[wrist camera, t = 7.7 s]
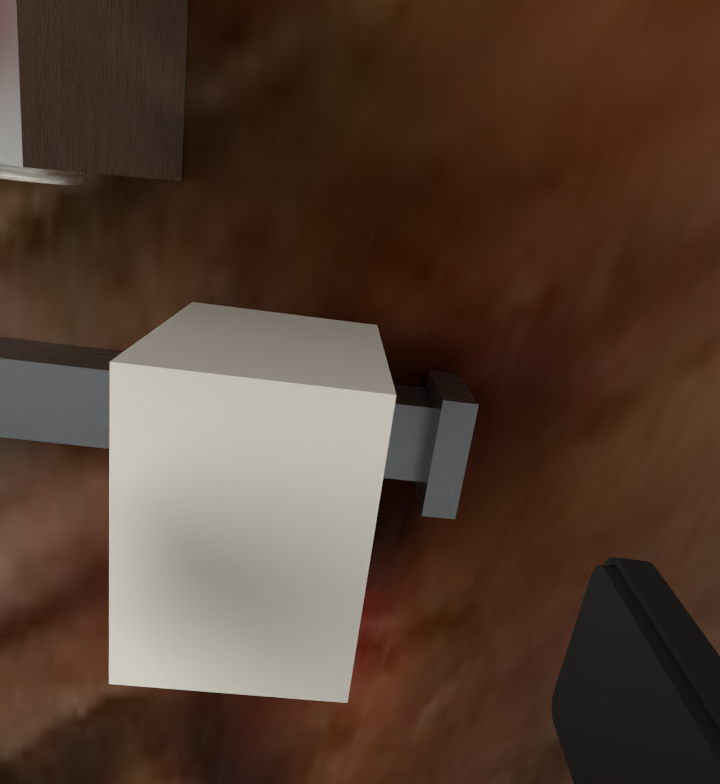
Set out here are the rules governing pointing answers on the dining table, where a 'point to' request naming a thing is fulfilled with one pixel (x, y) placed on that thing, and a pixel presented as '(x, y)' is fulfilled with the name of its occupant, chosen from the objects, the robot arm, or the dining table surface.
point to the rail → (91, 415)
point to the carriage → (244, 501)
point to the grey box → (92, 89)
